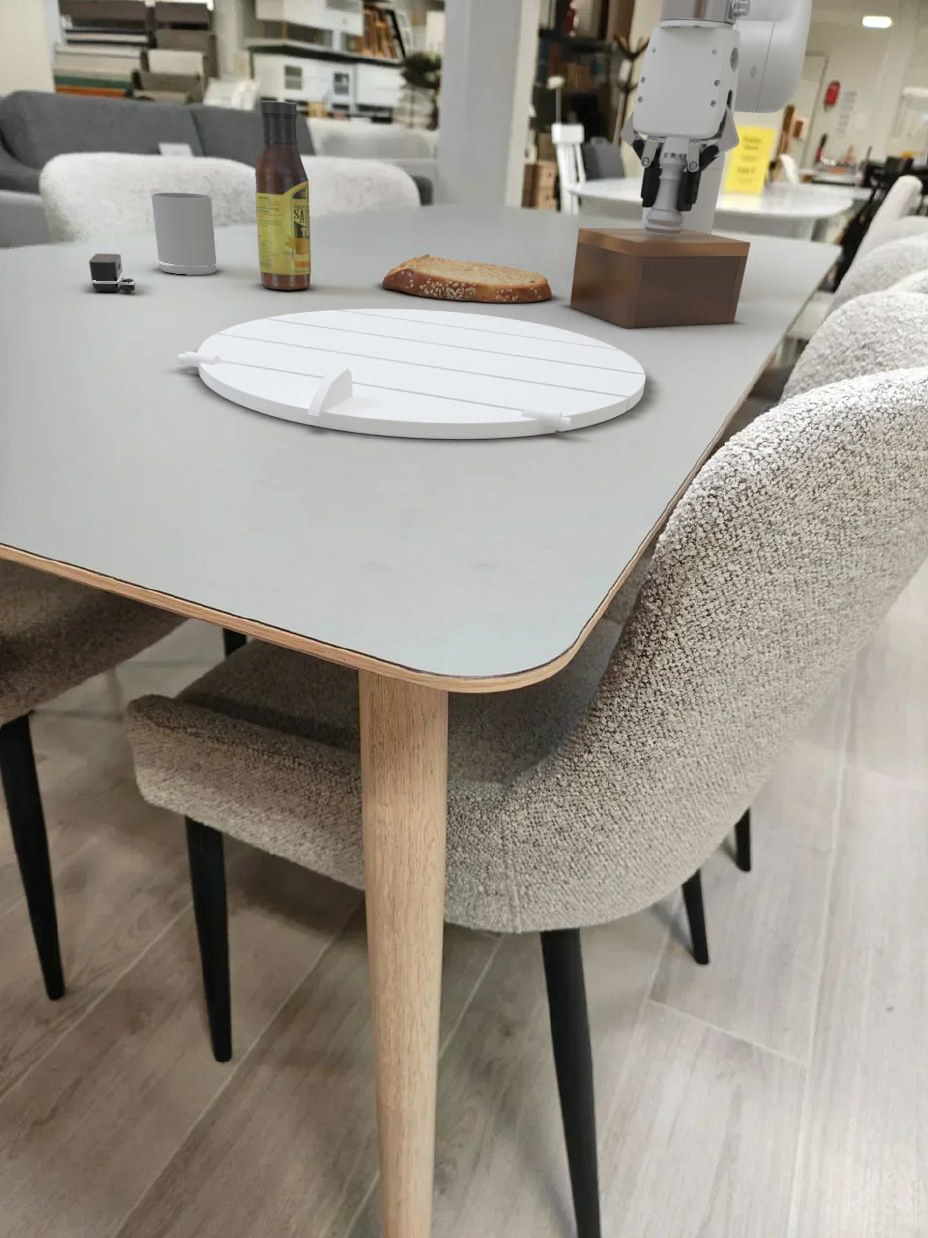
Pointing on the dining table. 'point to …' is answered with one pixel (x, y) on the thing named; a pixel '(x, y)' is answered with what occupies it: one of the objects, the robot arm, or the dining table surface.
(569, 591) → the dining table surface
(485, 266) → the slice of bread
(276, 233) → the sauce bottle
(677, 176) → the rook chess piece
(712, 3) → the robot arm
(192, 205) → the cup
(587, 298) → the wooden box
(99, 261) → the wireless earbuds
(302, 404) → the lazy susan
